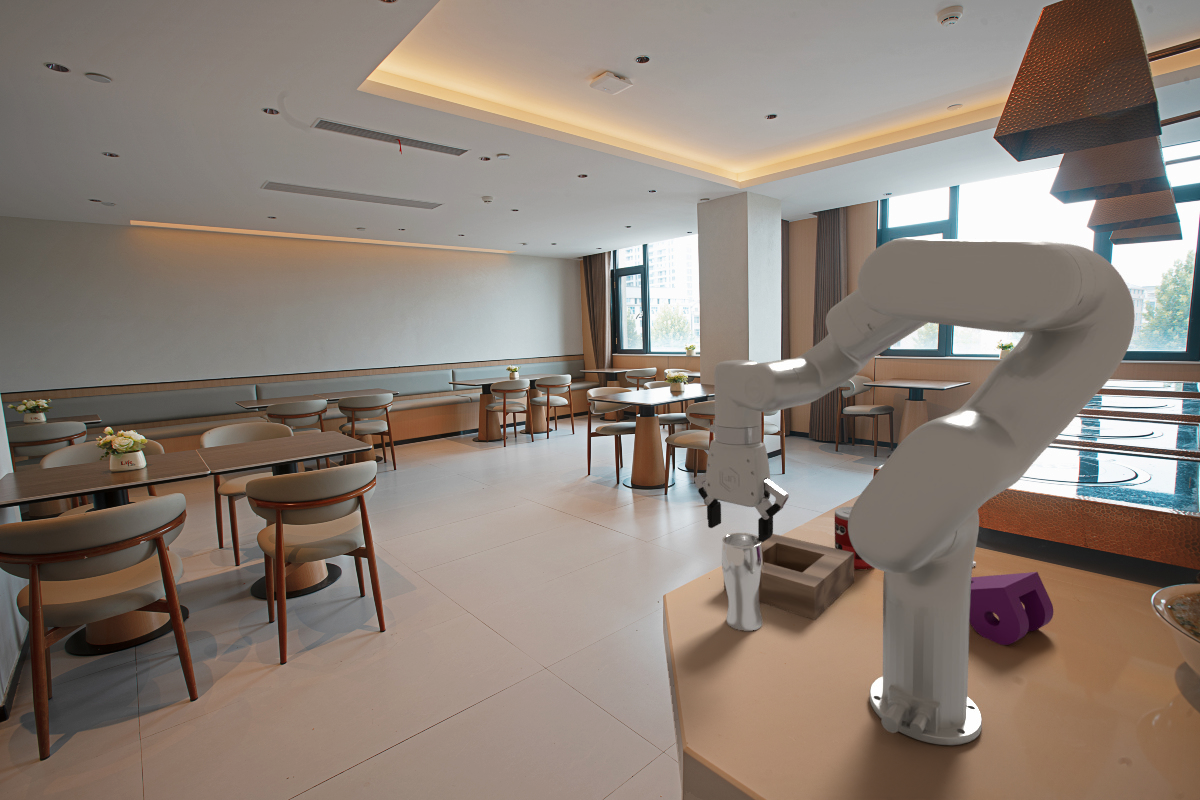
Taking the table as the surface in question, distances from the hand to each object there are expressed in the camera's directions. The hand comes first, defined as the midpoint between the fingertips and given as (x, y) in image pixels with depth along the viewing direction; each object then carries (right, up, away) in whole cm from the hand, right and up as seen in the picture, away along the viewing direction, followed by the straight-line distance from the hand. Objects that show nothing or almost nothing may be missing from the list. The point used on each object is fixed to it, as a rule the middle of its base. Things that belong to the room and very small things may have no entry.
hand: (738, 532), depth 94 cm
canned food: (+30, -12, +22) cm, 39 cm away
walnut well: (+13, -14, +13) cm, 23 cm away
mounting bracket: (+39, -15, -1) cm, 42 cm away
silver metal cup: (+1, -16, +2) cm, 16 cm away
